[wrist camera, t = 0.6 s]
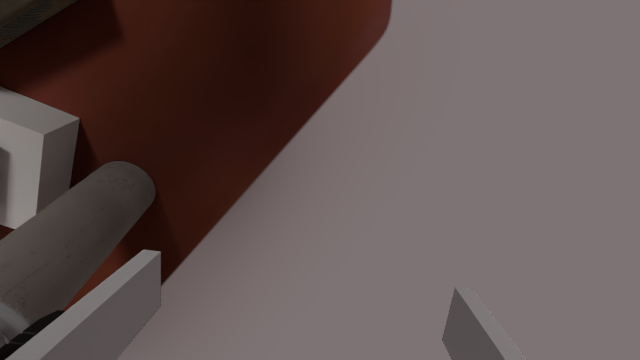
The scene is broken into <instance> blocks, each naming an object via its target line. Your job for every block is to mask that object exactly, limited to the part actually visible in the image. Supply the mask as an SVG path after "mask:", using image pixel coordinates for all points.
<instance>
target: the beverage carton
mask: <svg viewBox="0 0 640 360" xmlns="http://www.w3.org/2000/svg"><path fill="white" fill-rule="evenodd" d="M76 1H77V0H0V48H1V47H3V46H4V45H6V44H8V43H9V42H11V41H13V40H14V39H16V38H17V37H19V36H20V35H22V34H24V33H26V32H27V31H29V30H31V29H32V28H34V27H35V26H37V25H39V24H40V23H42V22H43V21H45V20H47V19H48V18H50V17H52V16H53V15H55V14H57V13H58V12H60V11H61V10H63V9H64V8H66V7H68V6H69V5H71V4H72V3H74V2H76Z"/></svg>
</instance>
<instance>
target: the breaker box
mask: <svg viewBox="0 0 640 360" xmlns="http://www.w3.org/2000/svg"><path fill="white" fill-rule="evenodd" d="M79 121H80V118H78V117H75V116H73V115H71V114H68V113H66V112H63V111H61V110H58V109H56V108H53V107H51V106H48V105H46V104H43V103H41V102H38V101H36V100H33V99H31V98H28V97H26V96H23V95H21V94H18V93H16V92H13V91H11V90H8V89H6V88H3V87H1V86H0V225H4V226H7V227H10V228H13V229H17V228H18V227H19V226H21V225H22V224H23V223H25V222H26V221H28V220H29V219H30V218H32V217H33V216H35V215H36V214H38V213H39V212H40V211H42V210H43V209H45V208H46V207H47V206H48V205H50V204H51V203H52V202H54V201H55V200H56V199H57V198H59V197H60V196H62V195H63V194H64V193H66V192H67V191H68V190H69V187H70V181H71V174H72V167H73V161H74V154H75V147H76V141H77V134H78V128H79Z"/></svg>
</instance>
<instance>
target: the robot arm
mask: <svg viewBox="0 0 640 360" xmlns="http://www.w3.org/2000/svg"><path fill="white" fill-rule="evenodd" d="M160 306H161V252H160V251H152V250H142V251H141V252H140V253H138V254H137V255H136V256H135V257H133V258H132V259H131V260H130V261H128V262H127V263H126V264H125V265H123V266H122V267H121V268H120V269H118V270H117V271H116V272H115V273H113V274H112V275H111V276H110V277H108V278H107V279H106V280H105V281H103V282H102V283H101V284H100V285H98V286H97V287H96V288H95V289H93V290H92V291H91V292H89V293H88V294H87V295H86V296H84V297H83V298H82V299H81V300H79V301H78V302H77V303H76V304H74V305H73V306H72V307H71V308H69V309H68V310H67V311H61V310H57V311H55V312H53V313H51V314H49V315H46V316H44V317H42V318H40V319H38V320H37V321H36V322H34V323H33V324H32V325H30V326H29V327H28V328H26V329H25V330H24V331H23V332H22V334H18V335H17V336H15V337H14V338H13V339H11V340H10V341H9V343H8V344H5V345H3V346H2V347H1V348H0V360H117V359H118V357H119V356H120V355H121V354H122V352H123V351H124V350H125V349H126V348H127V346H128V345H129V344H130V343H131V342H132V340H133V339H134V338H135V336H136V335H137V334H138V333H139V332H140V330H141V329H142V328H143V327H144V326H145V324H146V323H147V322H148V321H149V319H150V318H151V317H152V316H153V315H154V314H155V312H156V311H157V310H158V308H159V307H160ZM442 341H443V342H444V345H445V347H446V349H447V351H448V353H449V355H450V357H451V359H452V360H527V359H526V358H525V357H524V356H523V354H522V353H521V352H520V350H519V349H518V348H517V347H516V345H515V344H514V343H513V341H512V340H511V339H510V337H509V336H508V335H507V334H506V332H505V331H504V330H503V328H502V327H501V326H500V325H499V323H498V322H497V321H496V319H495V318H494V317H493V315H492V314H491V313H490V312H489V310H488V309H487V308H486V306H485V305H484V304H483V303H482V301H481V300H480V299H479V297H478V296H477V295H476V293H475V292H474V291H473V290H472V289H465V288H457V287H456V288H455V290H454V294H453V298H452V302H451V306H450V310H449V315H448V318H447V322H446V326H445V330H444V334H443V338H442Z"/></svg>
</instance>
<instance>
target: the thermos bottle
mask: <svg viewBox="0 0 640 360" xmlns="http://www.w3.org/2000/svg"><path fill="white" fill-rule="evenodd" d="M154 198H155V186H154V183H153V181H152V180H151V178H150V177H149V175H148V174H147V173H146V172H145V171H143V170H142V169H141V168H139V167H137V166H136V165H133V164H131V163H128V162H123V161H114V162H109V163H106V164H104V165H103V166H101V167H100V168H98V169H97V170H95V171H94V172H93V173H91V174H90V175H89V176H87V177H86V178H85V179H84V180H82V181H81V182H79V183H78V184H77V185H75V186H74V187H72V188H71V189H70V190H68V191H67V192H66V193H64V194H63V195H62V196H60V197H59V198H57V199H56V200H55V201H54V202H52V203H51V204H50V205H48V206H47V207H46V208H45V209H43V210H42V211H40V212H39V213H38V214H36V215H35V216H33V217H32V218H30V219H29V220H28V221H26V222H25V223H23V224H22V225H21V226H19V227H18V228H17V229H15V230H14V231H12V232H11V233H10V234H8V235H7V236H6V237H4V238H3V239H2V240H0V348H1V347H2V346H3V345H5V344H8V343H9V341H10V340H11V339H13V338H14V337H15V336H17V335H18V334H22V332H23V331H24V330H25V329H26V328H28V327H29V326H30V325H32V324H33V323H34V322H36V321H37V320H38V319H40V318H42V317H44V316H46V315H49V314H51V313H53V312H55V311H57V310H61V311H62V310H63V309H64V308H65V307H66V305H67V304H68V303H69V302H70V301H71V299H72V298H73V297H74V296H75V295H76V293H77V292H78V291H79V290H80V289H81V288H82V286H83V285H84V284H85V283H86V282H87V280H88V279H89V278H90V277H91V276H92V274H93V273H94V272H95V271H96V270H97V268H98V267H99V266H100V265H101V264H102V262H103V261H104V260H105V259H106V258H107V256H108V255H109V254H110V253H111V252H112V250H113V249H114V248H115V247H116V245H117V244H118V243H119V242H120V241H121V239H122V238H123V237H124V236H125V235H126V234H127V232H128V231H129V230H130V229H131V228H132V227H133V225H134V224H135V223H136V222H137V221H138V219H139V218H140V217H141V216H142V215H143V213H144V212H145V211H146V210H147V209H148V207H149V206H150V205H151V204H152V202H153V201H154Z"/></svg>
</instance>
